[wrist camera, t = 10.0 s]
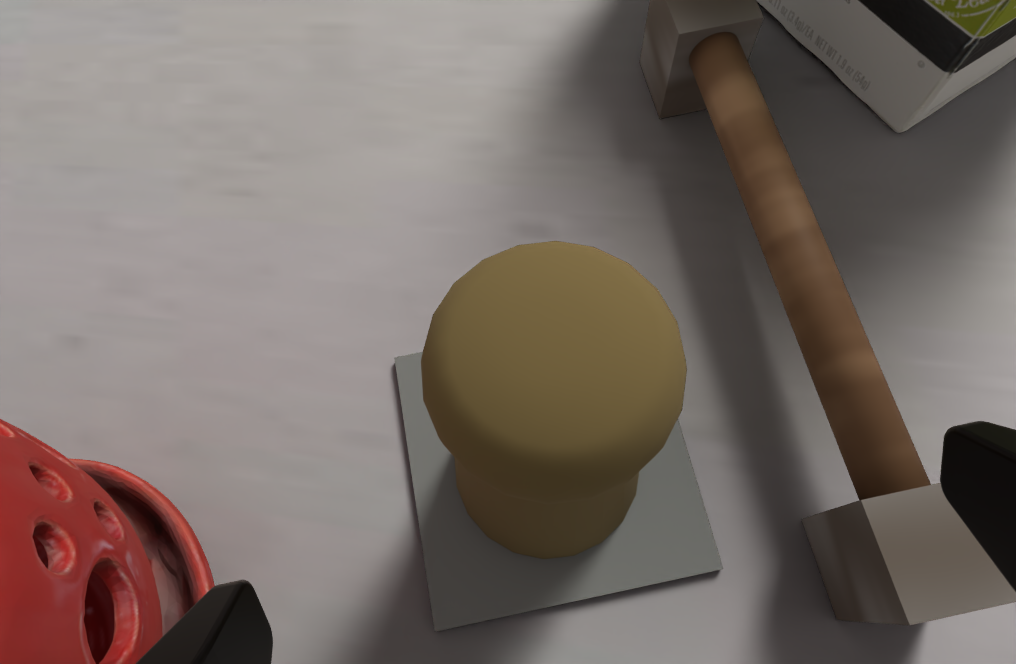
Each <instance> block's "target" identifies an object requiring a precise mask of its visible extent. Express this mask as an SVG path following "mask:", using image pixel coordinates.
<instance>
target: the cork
mask: <svg viewBox="0 0 1016 664" xmlns="http://www.w3.org/2000/svg"><path fill="white" fill-rule="evenodd" d="M421 372H422V389H423V401H424V403H425V406H426V408H427V410H428V413H429V415H430V418H431V420H432V423H433V425H434V427H435V430H436V432H437V435H438V437H439V439H440V440H441V442H442V443H443V445H444V446H445V447H446V448H447V449H448V450H449V452H450V453H451V454H452V455H453V456H454V458H455V472H456V485H457V489H458V491H459V494H460V496H461V498H462V501H463V503H464V506H465V508H466V511H467V513H468V515H469V516H470V517H471V518H472V519H473V521H474V522H475V523H476V524H477V525H478V526H479V528H480V529H481V530H482V531H483V532H484V533H485V535H486V536H487V537H488V538H490V539H492V540H493V541H495V542H497V543H498V544H500V545H502V546H503V547H505V548H507V549H508V550H510V551H512V552H513V553H518V554H522V555H527V556H531V557H536V558H540V559H550V558H558V557H567V556H574V555H577V554H579V553H581V552H583V551H585V550H587V549H589V548H591V547H593V546H595V545H597V544H600V543H601V542H602V541H604V540H605V539H606V538H607V537H608V536H609V535H610V534H611V533H612V532H613V531H614V530H615V529H616V528H617V527H618V526H619V525H620V524H621V523H622V522H623V520H624V518H625V516H626V514H627V512H628V510H629V508H630V506H631V504H632V502H633V500H634V498H635V496H636V492H637V484H638V477H639V471H640V470H641V469H642V468H643V467H644V466H645V465H646V464H648V463H649V462H650V461H651V460H652V459H653V458H654V457H655V456H656V455H657V454H658V453H659V452H660V450H661V449H662V448H663V447H664V445H665V443H666V441H667V439H668V437H669V435H670V433H671V431H672V429H673V427H674V425H675V423H676V421H677V419H678V417H679V415H680V413H681V411H682V405H683V397H684V389H685V381H686V372H687V368H686V360H685V355H684V351H683V346H682V342H681V337H680V332H679V328H678V323H677V321H676V319H675V318H674V316H673V314H672V313H671V311H670V309H669V308H668V306H667V304H666V303H665V301H664V299H663V298H662V296H661V294H660V292H659V291H658V289H657V288H656V287H654V286H653V285H652V284H651V283H650V282H649V281H648V280H647V279H646V278H644V277H643V276H642V275H641V274H640V273H639V272H638V271H637V270H635V269H634V268H633V267H632V266H631V265H630V264H629V263H627V262H624V261H622V260H620V259H618V258H616V257H614V256H612V255H610V254H607V253H605V252H603V251H601V250H599V249H597V248H595V247H590V246H584V245H578V244H572V243H566V242H559V241H551V242H543V243H534V244H525V245H518V246H515V247H513V248H510V249H508V250H505V251H503V252H501V253H498V254H496V255H493V256H491V257H489V258H486V259H484V260H482V261H481V262H480V263H478V264H477V265H476V266H475V267H474V268H472V269H471V270H470V271H469V272H467V273H466V274H465V275H464V276H462V277H461V278H460V279H459V280H457V281H456V282H455V283H454V284H453V285H452V287H451V288H450V290H449V292H448V293H447V295H446V296H445V298H444V299H443V301H442V302H441V304H440V305H439V307H438V308H437V310H436V311H435V313H434V314H433V317H432V320H431V324H430V328H429V331H428V335H427V339H426V342H425V346H424V350H423V354H422V358H421Z"/></svg>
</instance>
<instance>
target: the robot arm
mask: <svg viewBox="0 0 1016 664" xmlns="http://www.w3.org/2000/svg"><path fill="white" fill-rule="evenodd" d="M940 482H941V488H942V491H943V493H944V495H945V497H946V499H947V500H948V502H949V503H950V505H951V506H952V507H953V509H954V510H955V511H956V513H957V514H958V515H959V517H960V518H961V520H962V521H963V522H964V524H965V525H966V526H967V528H968V529H969V530H970V532H971V533H972V534H973V536H974V537H975V538H976V540H977V541H978V542H979V544H980V545H981V547H982V548H983V549H984V551H985V552H986V553H987V555H988V556H989V557H990V559H991V560H992V561H993V563H994V564H995V565H996V567H997V568H998V569H999V571H1000V572H1001V574H1002V575H1003V576H1004V578H1005V579H1006V580H1007V582H1008V583H1009V584H1010V586H1011V587H1012V588H1013V589H1014V591H1015V592H1016V430H1015V429H1011V428H1007V427H1003V426H1000V425H996V424H992V423H989V422H984V421H977V422H972V423H967V424H962V425H958V426H953V427H951V428H950V429H948V430H947V432H946V433H945V435H944V442H943V453H942V464H941V475H940ZM272 648H273V638H272V631H271V627H270V625H269V622H268V620H267V618H266V615H265V613H264V611H263V608H262V606H261V604H260V602H259V599H258V597H257V595H256V592H255V590H254V588H253V586H252V585H251V584H250V583H249V582H248V581H246V580H239V581H234V582H229V583H225V584H220V585H217V586H214V587H213V588H211V589H210V590H209V591H208V592H207V593H206V594H205V595H204V596H203V597H202V598H201V599H200V600H199V601H198V602H197V603H196V604H195V605H194V606H193V607H192V608H191V609H190V610H189V611H188V612H187V613H186V614H185V615H184V616H183V617H182V618H181V619H180V620H179V621H178V622H177V623H176V624H175V625H174V626H173V627H172V628H171V629H170V630H169V631H168V632H167V633H166V634H165V635H164V636H163V637H162V638H161V639H160V640H159V641H158V642H157V643H156V644H155V645H154V646H153V647H152V648H151V649H150V650H148V651H147V652H146V653H145V654H144V655H143V656H142V657H141V658H140V659H139V660H138V661H137V662H136V663H135V664H271V658H272Z"/></svg>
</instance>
